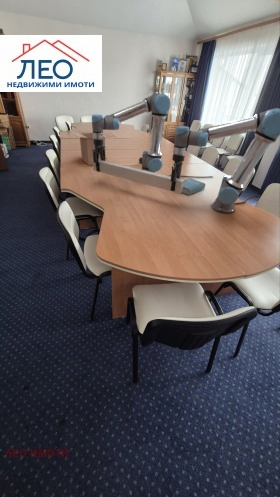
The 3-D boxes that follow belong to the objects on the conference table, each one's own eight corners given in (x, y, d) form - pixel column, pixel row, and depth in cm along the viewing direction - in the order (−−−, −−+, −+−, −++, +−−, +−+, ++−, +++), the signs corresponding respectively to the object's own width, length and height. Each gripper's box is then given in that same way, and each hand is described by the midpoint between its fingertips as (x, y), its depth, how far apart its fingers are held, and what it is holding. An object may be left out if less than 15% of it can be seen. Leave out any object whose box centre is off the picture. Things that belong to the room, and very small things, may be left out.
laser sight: (158, 166, 235) (159, 156, 229) (137, 164, 238) (138, 154, 232) (159, 164, 243) (160, 154, 237) (139, 161, 245) (140, 152, 239)
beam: (93, 170, 179) (92, 160, 174) (96, 168, 182) (96, 158, 177) (179, 193, 150) (181, 181, 145) (182, 191, 153) (184, 179, 149)
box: (116, 165, 229) (116, 136, 213) (83, 168, 214) (80, 137, 198) (102, 154, 259) (101, 128, 243) (71, 156, 244) (68, 129, 228)
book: (188, 183, 198) (190, 178, 195) (204, 189, 190) (205, 183, 187) (173, 189, 185) (174, 183, 182) (188, 195, 176) (190, 189, 173)
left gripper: (94, 141, 156) (97, 174, 170) (109, 137, 169) (110, 168, 183) (86, 139, 159) (89, 172, 173) (101, 136, 172) (103, 166, 186)
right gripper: (179, 158, 132) (174, 194, 146) (189, 152, 145) (183, 186, 159) (168, 156, 134) (163, 192, 148) (178, 150, 148) (173, 184, 161)
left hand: (100, 170), depth 178 cm, fingers closed on beam, 5 cm apart
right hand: (174, 189), depth 153 cm, fingers closed on beam, 5 cm apart
